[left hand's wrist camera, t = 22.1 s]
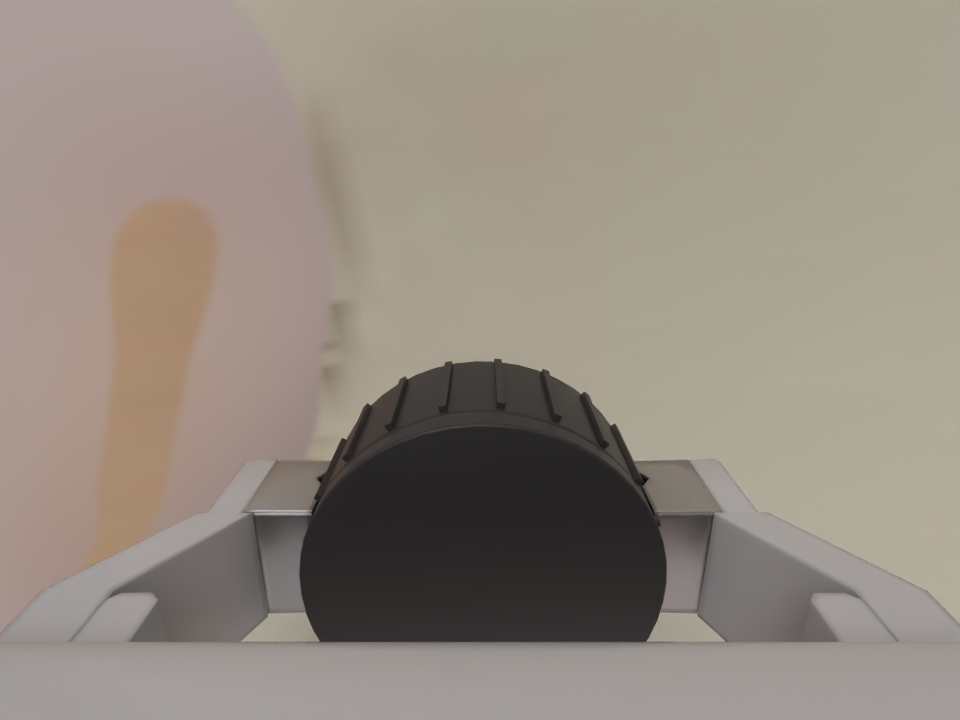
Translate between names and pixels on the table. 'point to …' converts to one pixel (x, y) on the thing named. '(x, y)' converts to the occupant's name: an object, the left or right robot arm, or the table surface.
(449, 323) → the table surface
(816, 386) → the table surface
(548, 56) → the table surface
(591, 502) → the lid
